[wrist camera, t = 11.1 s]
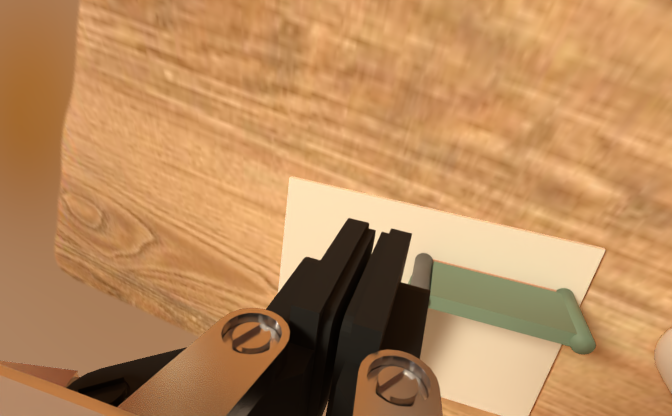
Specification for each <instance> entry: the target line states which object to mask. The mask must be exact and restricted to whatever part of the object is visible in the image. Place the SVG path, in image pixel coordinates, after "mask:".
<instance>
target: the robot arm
mask: <svg viewBox="0 0 672 416" xmlns="http://www.w3.org/2000/svg"><path fill="white" fill-rule="evenodd" d="M375 234H376V230H373V229H369V223H368V222H364V221H360V220H356V219H352V218H348V219H347V221H346V222H345V224H344V225H343V227H342V228H341V230H340V231H339V233H338V234H337V236H336V237H335V239H334V240H333V242H332V243H331V245H330V246H329V248H328V249H327V251H326V253H325V254H324V256H323V257H322V259H321V260H318V259H314V258H310V257H305V258H304V259H303V260H302V261H301V263H300V264H299V265H298V267H297V268H296V269H295V271H294V272H293V273H292V275H291V276H290V277H289V279H288V280H287V282H286V283H285V284H284V286H283V287H282V288H281V290H280V291H279V292H278V294H277V295H276V296H275V298H274V299H273V301H272V302H271V303H270V305H269V306H268V307H267V309H266V310H265V309H260V308H246V309H239V310H236V311H234V312H231V313H229V314H227V315H226V316H224V317H222V318H221V319H220V320H219V321H218V322H216V323H215V324H214V325H213V326H212V327H210V328H209V329H208V330H207V331H206V332H205V333H203V334H202V335H201V336H200V337H199V338H198V339H196V340H195V341H194V342H193V343H192V344H190V345H189V346H188V347H186V348H183V349H178V350H174V351H170V352H166V353H162V354H158V355H154V356H150V357H146V358H142V359H138V360H134V361H130V362H126V363H122V364H117V365H113V366H109V367H105V368H101V369H99V370H96V371H93V372H90V373H87V374H86V375H84V376H82V377H78V371H77V370H69V369H62V368H53V367H46V366H38V365H31V364H23V363H16V362H8V361H0V416H322V415H323V412H324V410H325V407H326V405H327V402H328V406H327V412H326V416H443V414H442V404H441V395H440V387H439V383H438V380H437V377H436V376H435V374H434V373H433V371H432V370H431V368H430V367H429V366H427V365H426V364H425V363H424V362H423V361H422V360H420V355H421V349H422V343H423V336H424V330H425V324H426V317H427V311H428V305H429V299H430V292H431V291H430V290H428V289H424V288H421V287H417V286H413V285H410V284H406V283H402V282H401V280H402V276H403V272H404V267H405V263H406V259H407V254H408V250H409V246H410V241H411V237H412V233H408V232H404V231H400V230H396V229H392V228H391V230H390V232H389V233H385V232H381V234H380V237H379V239H378V241H377V243H376V246H375V248H374V250H373V245H374V239H375ZM372 250H373V252H372ZM328 399H329V400H328Z"/></svg>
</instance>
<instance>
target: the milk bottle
mask: <svg viewBox="0 0 672 416" xmlns="http://www.w3.org/2000/svg"><path fill="white" fill-rule="evenodd" d="M654 360H655V365H656V367H657V369H658V371H659V373H660V375H661V377H662V379H663V380H664V382H665V384H666V386H667V387H668V389H669V391H670V392H671V394H672V327H671V328H670V329H668V330H667V331H666V332H665V333H664V334H663V335H662V336H661V337H660V339H659V341H658V342H657V344H656V348H655V353H654Z"/></svg>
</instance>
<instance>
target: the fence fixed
mask: <svg viewBox="0 0 672 416" xmlns="http://www.w3.org/2000/svg"><path fill="white" fill-rule="evenodd" d="M410 285H413V286H417V287H421V288H424V289H428V290H430V291H431V292H430V299H429V305H428V308H430V309H434V310H438V311H441V312H445V313H449V314H452V315H456V316H460V317H463V318H467V319H471V320H474V321H478V322H482V323H485V324H489V325H493V326H496V327H500V328H504V329H507V330H511V331H515V332H518V333H522V334H526V335H529V336H533V337H537V338H540V339H544V340H548V341H551V342H555V343H559V344H562V345H566V346H570V347H571V348H572V350H573V351H574V352H576V353H578V354H589V353H591V352H592V351H594V349H595V347H596V344H595V341H594V339H593V337H592V335H591V332H590V330H589V328H588V325H587V323H586V321H585V319H584V316H583V314H582V312H581V310H580V307H579V305H578V303H577V301H576V298H575V296H574V294H573V292H572V291H571V290H570V289H567V288H560V289H558V290H557V291H556V292H554V291H550V290H546V289H542V288H538V287H535V286H531V285H527V284H523V283H519V282H515V281H511V280H507V279H503V278H499V277H495V276H491V275H487V274H483V273H479V272H475V271H471V270H467V269H463V268H459V267H455V266H451V265H447V264H443V263H439V262H435V261H434V263H433V259H432V257H431V256H430V255H429V254H427V253H420V254H418V255H417V256H416V258H415V263H414V268H413V273H412V278H411V284H410Z"/></svg>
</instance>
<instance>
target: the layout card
mask: <svg viewBox="0 0 672 416" xmlns="http://www.w3.org/2000/svg"><path fill="white" fill-rule="evenodd" d="M348 218H352V219H356V220H360V221H364V222H368V223H369V229H373V230H376V234H375V239H374V245H373V250H374V248H375V246H376V243H377V241H378V239H379V237H380V234H381V232H385V233H389V232H390V230H391V228H392V229H396V230H400V231H404V232H408V233H412V237H411V241H410V246H409V250H408V254H407V259H406V263H405V267H404V272H403V276H402V280H401V282H402V283H406V284H408V282H409V280H410V277H411V276H412V273H413V268H414V263H415V258H416V256H417V255H418V254H420V253H427V254H429V255H430V256H431V257H432V259H433V263H434V261H435V262H439V263H443V264H447V265H451V266H455V267H459V268H463V269H467V270H471V271H475V272H479V273H483V274H487V275H491V276H495V277H499V278H503V279H507V280H511V281H515V282H519V283H523V284H527V285H531V286H535V287H538V288H542V289H546V290H550V291H554V292H556V291H557V290H558V289H560V288H567V289H570V290H571V291H572V292H573V294H574V296H575V298H576V301H577V303H578V305H579V306H580V304H581V302H582V300H583V298H584V295H585V293H586V291H587V289H588V287H589V285H590V283H591V280H592V278H593V276H594V274H595V272H596V270H597V268H598V265H599V263H600V261H601V259H602V257H603V255H604V252H605V249H604V248H602V247H598V246H593V245H589V244H585V243H580V242H576V241H572V240H567V239H563V238H559V237H554V236H550V235H546V234H541V233H537V232H533V231H528V230H524V229H519V228H515V227H511V226H506V225H502V224H498V223H493V222H489V221H485V220H480V219H476V218H472V217H467V216H463V215H459V214H454V213H450V212H445V211H441V210H437V209H432V208H428V207H424V206H419V205H415V204H411V203H406V202H402V201H398V200H393V199H389V198H385V197H380V196H376V195H372V194H367V193H363V192H358V191H354V190H350V189H345V188H341V187H337V186H332V185H328V184H324V183H319V182H315V181H311V180H306V179H302V178H298V177H293V176H291V177H290V178H289V188H288V198H287V208H286V218H285V228H284V238H283V248H282V258H281V268H280V278H279V288H278V292H279V291H280V290H281V288H282V287H283V286H284V284H285V283H286V282H287V280H288V279H289V277H290V276H291V275H292V273H293V272H294V271H295V269H296V268H297V267H298V265H299V264H300V263H301V261H302V260H303V259H304V258H305V257H310V258H314V259H318V260H321V259H322V257H323V256H324V254H325V253H326V251H327V249H328V248H329V246H330V245H331V243H332V242H333V240H334V239H335V237H336V236H337V234H338V233H339V231H340V230H341V228H342V227H343V225H344V224H345V222H346V221H347V219H348ZM373 250H372V252H373ZM561 345H562V344H559V343H555V342H551V341H548V340H544V339H540V338H537V337H533V336H529V335H526V334H522V333H518V332H515V331H511V330H507V329H504V328H500V327H496V326H493V325H489V324H485V323H482V322H478V321H474V320H471V319H467V318H463V317H460V316H456V315H452V314H449V313H445V312H441V311H438V310H434V309H430V308H428V311H427V317H426V324H425V330H424V336H423V343H422V349H421V355H420V360H422V361H423V362H424V363H425V364H426V365H427V366H429V367H430V368H431V370H432V371H433V373H434V374H435V376H436V377H437V380H438V383H439V387H440V395H441V397H443V398H446V399H449V400H452V401H456V402H459V403H462V404H465V405H469V406H472V407H475V408H478V409H482V410H485V411H488V412H491V413H494V414H498V415H501V416H529V414H530V412H531V409H532V407H533V405H534V403H535V401H536V399H537V397H538V394H539V392H540V390H541V388H542V386H543V384H544V381H545V379H546V377H547V375H548V373H549V371H550V369H551V366H552V364H553V362H554V360H555V358H556V356H557V354H558V351H559V349H560V347H561Z"/></svg>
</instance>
